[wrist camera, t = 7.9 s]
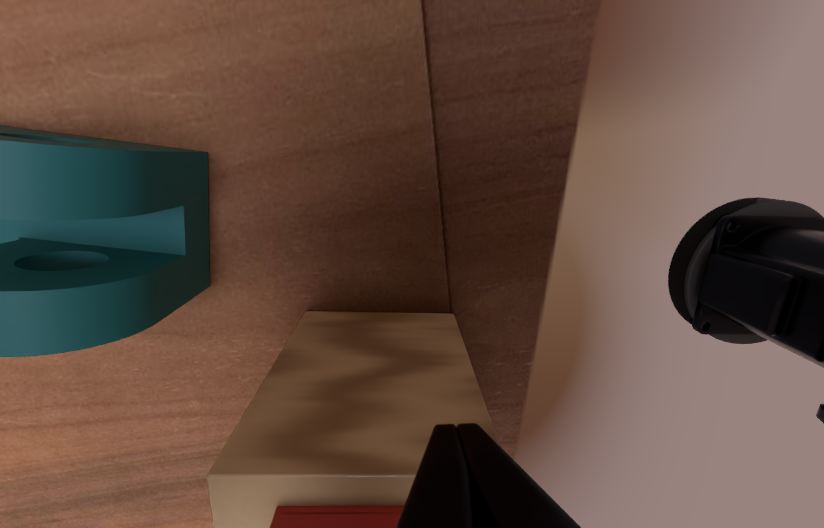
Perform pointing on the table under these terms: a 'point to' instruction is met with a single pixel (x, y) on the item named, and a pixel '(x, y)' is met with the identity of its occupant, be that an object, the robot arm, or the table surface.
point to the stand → (345, 415)
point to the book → (336, 516)
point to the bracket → (96, 238)
